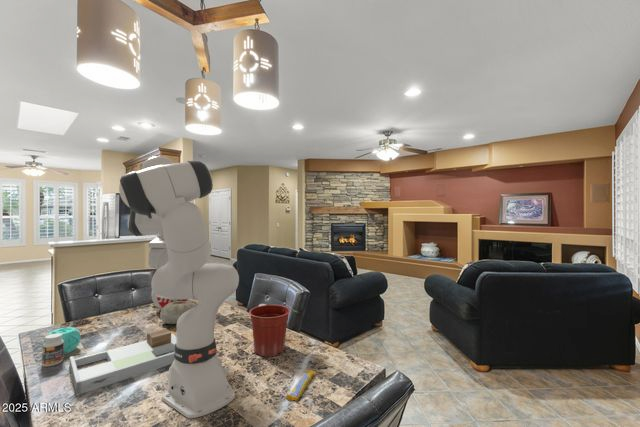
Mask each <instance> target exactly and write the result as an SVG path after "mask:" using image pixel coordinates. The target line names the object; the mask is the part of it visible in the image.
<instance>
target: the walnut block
mask: <svg viewBox="0 0 640 427" xmlns="http://www.w3.org/2000/svg"><path fill="white" fill-rule="evenodd" d="M171 334H172V332H171V331H170V330H168V328H166V327H164V328H159V329H156V330H152V331H148V332H146V340H147V343H148V344H149V345H150V347H151V348H154V347H157V346H161V345H164V344H168V343H171Z"/></svg>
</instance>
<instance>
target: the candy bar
mask: <svg viewBox="0 0 640 427" xmlns="http://www.w3.org/2000/svg"><path fill="white" fill-rule="evenodd" d="M316 374H317V371H316V370H312V369H305V370H304V372H303V373H302V375H301V377H300V378H299V380H298V381H297V382H296V384H295V385H294V387H293V388H292V389H291V391H290V392H289V394H288V393H286V397H285V399H286V400H287V401H293V400H295V401H294V402H298V401H299V399H300V398H301V396H302V395H301V394H304V392H303V391H305V390H306V389H307V387H308V386H309V384H310V382H311V381H312V379H313V378H314V376H315V375H316ZM312 377H313V378H312ZM310 380H311V381H310ZM308 383H309V384H308ZM307 385H308V386H307ZM306 386H307V387H306ZM304 389H305V390H304ZM299 397H300V398H299Z"/></svg>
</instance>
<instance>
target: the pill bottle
mask: <svg viewBox="0 0 640 427" xmlns="http://www.w3.org/2000/svg"><path fill="white" fill-rule="evenodd" d="M47 335H48V334H47ZM47 335H46V336H45V337H44V339H45V342H46V343H44V344H43V343H42V350H41V351H42V354H41V355H42V358H41V359H42V360H41V365H42V367H53V366H56V365H59V364H61V363H62V362H63V361H64V355H65V354H64V341H63V340H62V333H56V334H51V335H48V336H47Z"/></svg>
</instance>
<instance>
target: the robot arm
mask: <svg viewBox="0 0 640 427" xmlns="http://www.w3.org/2000/svg"><path fill="white" fill-rule="evenodd" d="M213 188H214V187H213V176H212V173H211V171H210V170H209V168H208V167H207V165H206V163H203V162H202V161H199V160H187V161H186V162H174V161H173V160H172V159H170V158H168V157H166V156H161V155H156V156H152V157H149V158H148V159H146V160H145V161H144V162H143V163H142V166H141V169H140V170H137V171H135V170H133V171H131V172H130V171H129V172H128V173H125V174H124V175H122V176H121V177H120V179H119V186H118V189H119V190H118V191H119V196H120V198H121V200H122V202H123V203H124V204H125V205H126V206H127V207H129V215H128V218H127V224H126V225H127V228H128V232H130V233H131V234H132V235H133V236H135V237H142V236H156V237H155V238H154V239H152V240H151V241H150V242H148V248H150V249H149V251H148V266H149V268H150V269H155V272H154V273H153V275H152V278H151V281H150V283H151V284H150V285H151V291H152V290H153V292H154V294H155V295H156V296H157V297H160V298H165V299H172V300H178V299H188V300H197V304H196V305H197V306H196V307H194V308H192V309H190V310H188V311H186V312H184V313H183V314H182V315H181V316H180V317H179V319H178V321H177V324H176V332H175V333H176V335H175V336H176V344H175V348H174V351H173V352H174V358H175V360H174V362H173V364H170V365H169V366H170V367H169V369H168V373H167V374H168V375H167V386H166V387H167V388H166V391H164V392H163V393H162V395H161V400H162V402H164V403H166V404H167V405H169V406H170V407H171V408H173V409H174V410H176V411H177V412H179V413H180V414H181V415H182V416H184V417H186V418H187V419H195V418H200V417H203V416H206V415H208V414H211V413H213V412H216V411H218V410H219V409H222V408H223V407H225V406H227V405H228V404H230V403H231V402H232V401H233V400H234V399H235V398H236V393H235V391H234V389H233V388H232V386H231V384H230V382H229V381H228V379H227V375H228V374H229V368H228V366H224V367H223V364H222V362H223V360H222V358H219V356H218V353H217V352H218V350H217V343H216V339H215V326H216V319H217V318H216V317H217V314H218V312H219V310H220V307H221V306H222V304H223V303H224V302H225V301H226V300H227V299H228V298H229V297H231V296H232V295H234V293H235V292H236V290H237V289H238V286H239V282H240V275H239V273H238V270H237V269H236V268H235V267H234V266H233V265H229V264H226V263H219V262H218V263H217V262H216V263H214V262H213V263H210V262H209V263H207V262H208V261H209V259H210V258H211V253H212V250H211V245H210V237H209V232H208V226H207V224H206V220H205V218H204V215H203V213H202V211H201V209H200V208H199V206H197V204H195V203H193V202H191V201H194V200H197V199H203V198H205V197H207V196H208V195H210V194H211V193H212V191H213Z"/></svg>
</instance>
